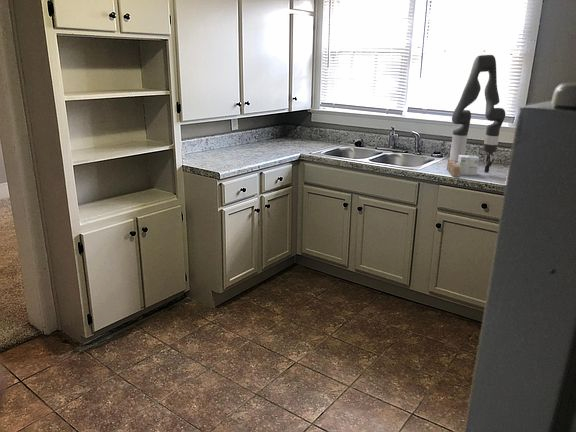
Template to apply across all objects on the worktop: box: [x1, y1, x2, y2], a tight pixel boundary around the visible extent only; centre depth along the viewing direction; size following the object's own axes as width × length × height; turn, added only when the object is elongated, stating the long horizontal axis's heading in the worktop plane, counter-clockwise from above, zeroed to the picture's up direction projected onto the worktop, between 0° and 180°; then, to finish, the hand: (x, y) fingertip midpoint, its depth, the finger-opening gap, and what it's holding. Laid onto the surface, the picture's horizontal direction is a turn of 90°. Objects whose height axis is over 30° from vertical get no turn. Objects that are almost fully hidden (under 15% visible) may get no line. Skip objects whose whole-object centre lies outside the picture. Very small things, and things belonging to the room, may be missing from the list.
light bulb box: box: [457, 154, 480, 176], centre depth 283 cm, size 11×7×11 cm, turn 85°
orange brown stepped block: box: [446, 159, 460, 178], centre depth 285 cm, size 20×3×6 cm, turn 173°
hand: (486, 172), depth 283 cm, fingers closed
